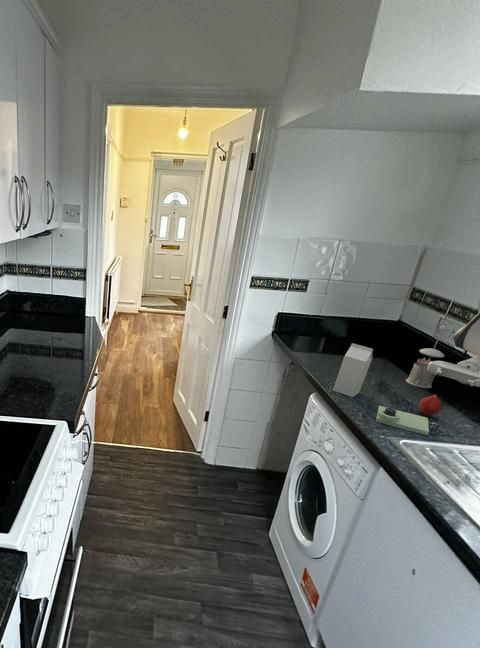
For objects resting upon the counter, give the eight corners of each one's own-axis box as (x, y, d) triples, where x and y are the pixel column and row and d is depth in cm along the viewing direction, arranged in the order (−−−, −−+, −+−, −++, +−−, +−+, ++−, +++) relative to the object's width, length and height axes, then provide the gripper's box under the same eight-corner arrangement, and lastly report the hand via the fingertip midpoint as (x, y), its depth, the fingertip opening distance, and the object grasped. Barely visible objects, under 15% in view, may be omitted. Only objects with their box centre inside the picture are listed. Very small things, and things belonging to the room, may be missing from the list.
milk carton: (351, 399, 153) (369, 351, 145) (332, 391, 158) (348, 345, 150) (358, 394, 157) (376, 347, 149) (339, 387, 162) (355, 341, 154)
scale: (426, 421, 139) (429, 413, 137) (427, 436, 129) (431, 427, 128) (377, 409, 146) (380, 401, 145) (375, 422, 136) (378, 414, 135)
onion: (415, 409, 147) (424, 389, 143) (435, 414, 144) (445, 394, 141) (415, 415, 143) (425, 394, 139) (436, 421, 140) (446, 400, 136)
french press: (436, 385, 169) (463, 327, 159) (427, 392, 162) (454, 331, 152) (408, 377, 176) (432, 320, 165) (399, 383, 169) (423, 324, 158)
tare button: (394, 414, 136) (396, 409, 136) (394, 417, 134) (396, 413, 133) (384, 411, 138) (385, 407, 137) (383, 414, 136) (385, 410, 135)
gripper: (439, 354, 158) (423, 360, 151) (508, 373, 143) (493, 380, 136) (433, 370, 161) (416, 375, 154) (500, 390, 145) (485, 397, 138)
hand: (453, 378), depth 145 cm, fingers open, 8 cm apart
